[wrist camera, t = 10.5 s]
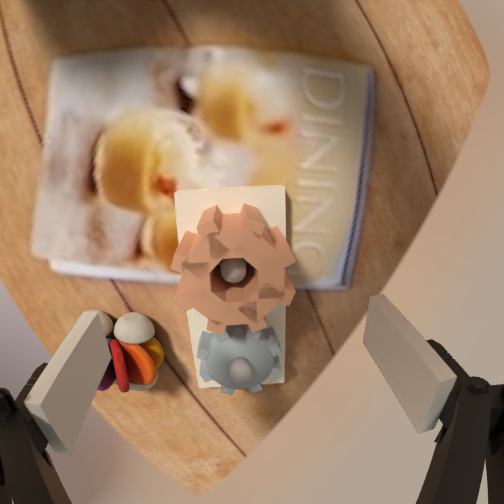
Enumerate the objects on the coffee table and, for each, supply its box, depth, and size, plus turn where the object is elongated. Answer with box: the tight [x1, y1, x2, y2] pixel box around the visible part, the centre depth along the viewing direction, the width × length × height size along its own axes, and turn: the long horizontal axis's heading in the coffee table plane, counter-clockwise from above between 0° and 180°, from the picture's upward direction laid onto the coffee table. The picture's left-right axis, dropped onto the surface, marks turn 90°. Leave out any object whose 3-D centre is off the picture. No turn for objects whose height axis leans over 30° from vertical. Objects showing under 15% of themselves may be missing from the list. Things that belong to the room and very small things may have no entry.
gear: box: [170, 203, 296, 335], centre depth 24 cm, size 8×8×6 cm
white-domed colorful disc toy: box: [76, 309, 164, 392], centre depth 28 cm, size 8×10×7 cm
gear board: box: [174, 185, 286, 395], centre depth 27 cm, size 9×20×6 cm, turn 2°
